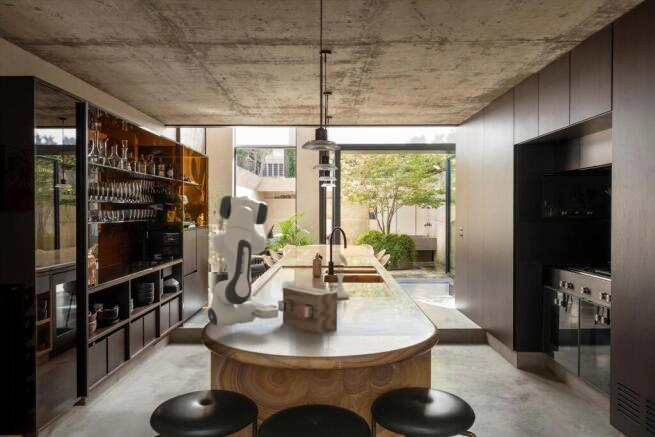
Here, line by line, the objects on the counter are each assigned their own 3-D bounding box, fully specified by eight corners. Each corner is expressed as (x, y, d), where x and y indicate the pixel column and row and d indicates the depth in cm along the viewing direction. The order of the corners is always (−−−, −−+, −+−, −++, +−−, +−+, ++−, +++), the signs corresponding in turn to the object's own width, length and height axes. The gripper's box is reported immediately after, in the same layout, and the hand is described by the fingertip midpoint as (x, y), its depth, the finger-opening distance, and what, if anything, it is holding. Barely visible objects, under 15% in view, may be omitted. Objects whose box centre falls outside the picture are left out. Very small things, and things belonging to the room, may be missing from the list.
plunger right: (303, 317, 206) (303, 307, 206) (297, 315, 209) (297, 305, 209) (318, 315, 211) (318, 305, 211) (312, 313, 214) (312, 303, 214)
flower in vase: (350, 300, 283) (351, 255, 282) (330, 299, 283) (330, 255, 282) (349, 295, 296) (350, 253, 295) (330, 295, 296) (330, 253, 296)
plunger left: (283, 312, 217) (283, 302, 217) (278, 310, 220) (278, 300, 220) (298, 309, 222) (298, 300, 222) (293, 308, 225) (293, 298, 225)
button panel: (316, 334, 207) (316, 295, 206) (282, 323, 225) (283, 287, 225) (336, 330, 214) (337, 292, 213) (302, 320, 232) (302, 285, 232)
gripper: (260, 308, 199) (289, 304, 208) (234, 300, 215) (262, 296, 224) (260, 324, 200) (288, 319, 208) (234, 315, 215) (262, 310, 224)
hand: (274, 307), depth 216 cm, fingers closed
